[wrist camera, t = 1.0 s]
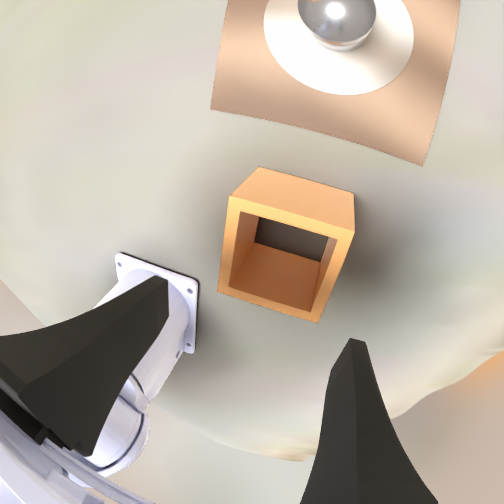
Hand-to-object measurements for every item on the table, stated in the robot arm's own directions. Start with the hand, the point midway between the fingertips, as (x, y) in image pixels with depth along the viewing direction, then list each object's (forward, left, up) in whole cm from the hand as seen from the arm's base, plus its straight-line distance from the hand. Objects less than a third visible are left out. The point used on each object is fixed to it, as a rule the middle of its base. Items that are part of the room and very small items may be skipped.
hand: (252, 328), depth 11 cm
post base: (+12, 0, -9) cm, 15 cm away
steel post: (+12, 0, -9) cm, 15 cm away
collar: (0, 0, -9) cm, 9 cm away
